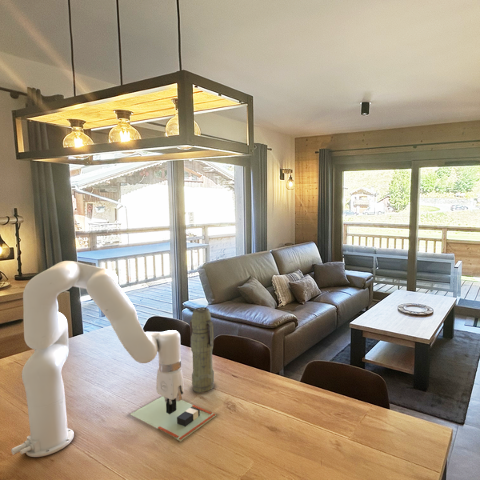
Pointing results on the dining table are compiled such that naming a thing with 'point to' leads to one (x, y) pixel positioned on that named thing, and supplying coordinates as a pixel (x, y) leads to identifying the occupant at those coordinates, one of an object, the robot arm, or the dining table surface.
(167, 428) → the desk mat
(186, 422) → the eraser
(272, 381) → the dining table surface
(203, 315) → the thermos
